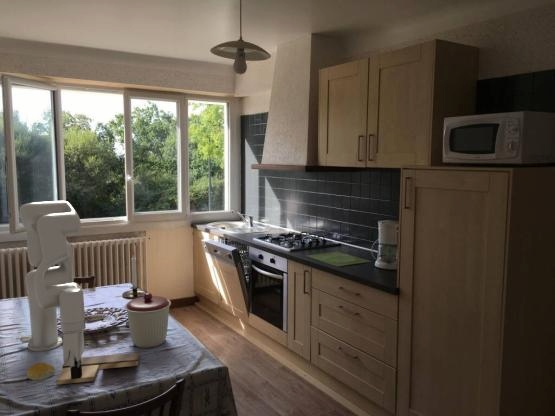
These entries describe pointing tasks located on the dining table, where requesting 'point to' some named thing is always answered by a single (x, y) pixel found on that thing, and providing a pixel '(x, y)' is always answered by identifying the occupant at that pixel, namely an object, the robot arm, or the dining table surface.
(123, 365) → the oak plank right
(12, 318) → the dining table surface
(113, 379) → the dining table surface
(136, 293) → the candlestick
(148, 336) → the canister
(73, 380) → the oak plank left
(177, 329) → the dining table surface
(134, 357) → the walnut floor strip
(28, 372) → the bread roll
